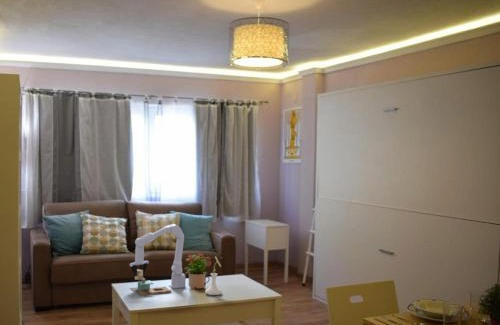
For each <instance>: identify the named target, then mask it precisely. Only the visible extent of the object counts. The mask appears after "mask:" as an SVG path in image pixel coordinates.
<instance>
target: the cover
mask: <svg viewBox="0 0 500 325" xmlns="http://www.w3.org/2000/svg"><path fill="white" fill-rule="evenodd" d="M151 285H154V282H153V281H151V280H146V278H144V277H143V278H142V280H137V287H138V290H145V289H150V288H151Z"/></svg>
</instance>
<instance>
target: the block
mask: <svg viewBox="0 0 500 325" xmlns="http://www.w3.org/2000/svg"><path fill="white" fill-rule="evenodd" d="M142 278H144V275H143V270H141V269H139V268H138V269H137V276H134V280H137V281H142Z"/></svg>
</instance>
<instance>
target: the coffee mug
mask: <svg viewBox="0 0 500 325" xmlns="http://www.w3.org/2000/svg"><path fill="white" fill-rule="evenodd" d="M206 274H207V273H206ZM206 274H205V279H206V278H208V280H207V281H205V283H204V285H206V284H207V283H208V282H210V276H208V275H207V276H206Z"/></svg>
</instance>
